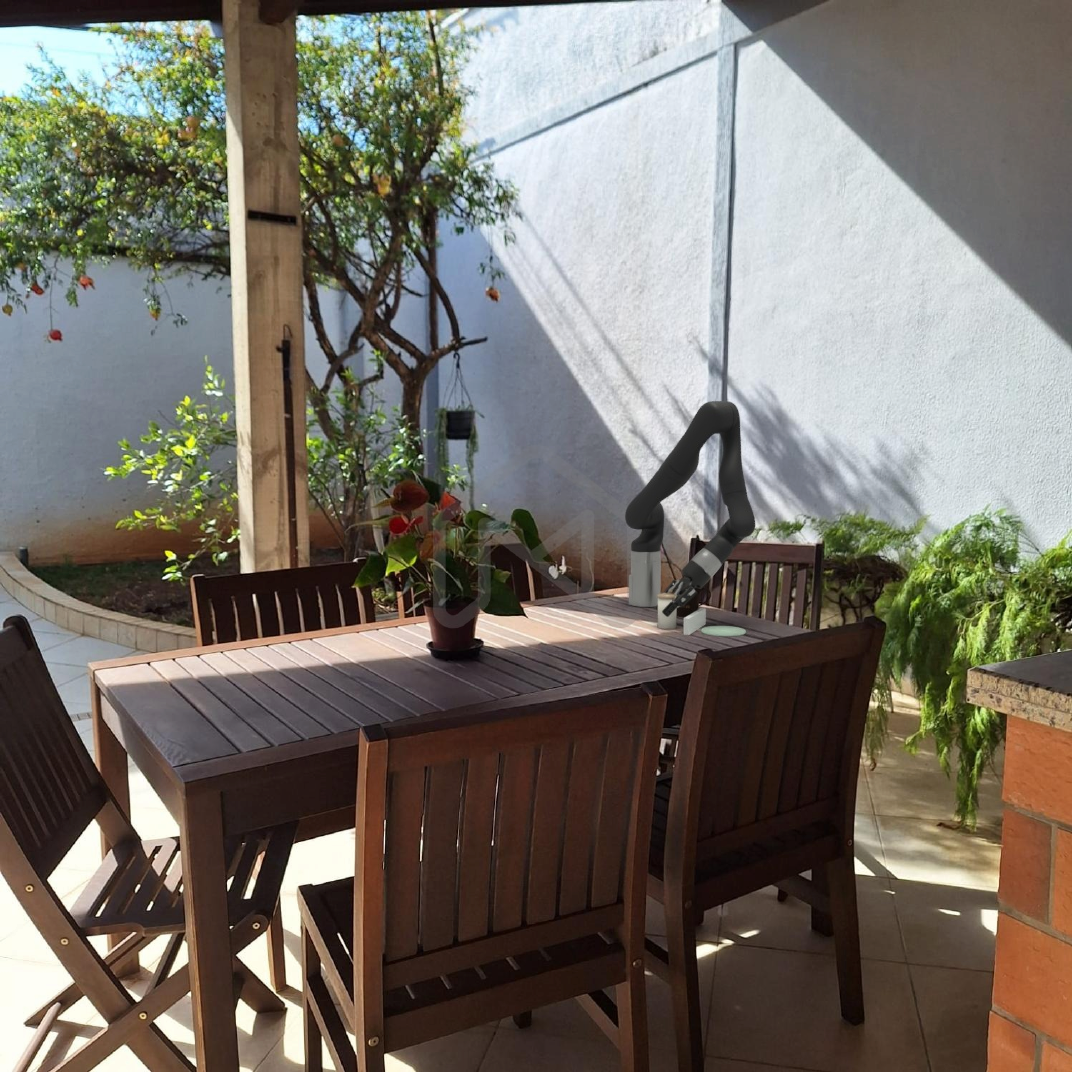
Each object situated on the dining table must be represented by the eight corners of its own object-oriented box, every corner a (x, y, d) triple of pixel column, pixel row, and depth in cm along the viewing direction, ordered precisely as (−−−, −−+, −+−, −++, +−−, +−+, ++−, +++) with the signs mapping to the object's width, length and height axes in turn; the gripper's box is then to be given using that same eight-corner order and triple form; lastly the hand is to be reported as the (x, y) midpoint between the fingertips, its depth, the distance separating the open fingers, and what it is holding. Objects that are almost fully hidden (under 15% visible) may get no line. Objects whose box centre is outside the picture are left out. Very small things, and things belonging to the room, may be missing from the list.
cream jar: (654, 628, 269) (654, 595, 268) (660, 624, 274) (661, 592, 273) (673, 629, 266) (673, 596, 265) (679, 625, 271) (679, 593, 270)
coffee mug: (666, 613, 289) (666, 580, 288) (690, 611, 293) (691, 578, 292) (688, 620, 279) (688, 586, 278) (713, 618, 282) (713, 584, 281)
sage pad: (695, 634, 260) (695, 632, 260) (707, 625, 271) (707, 624, 271) (739, 638, 255) (739, 636, 255) (750, 629, 266) (750, 627, 266)
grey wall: (683, 634, 260) (683, 618, 259) (700, 623, 274) (700, 608, 274) (688, 635, 259) (689, 618, 259) (705, 624, 273) (705, 608, 273)
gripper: (683, 556, 277) (643, 599, 275) (702, 562, 263) (660, 608, 261) (700, 573, 278) (660, 616, 277) (720, 581, 264) (679, 626, 263)
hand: (661, 612), depth 269 cm, fingers closed on cream jar, 5 cm apart
